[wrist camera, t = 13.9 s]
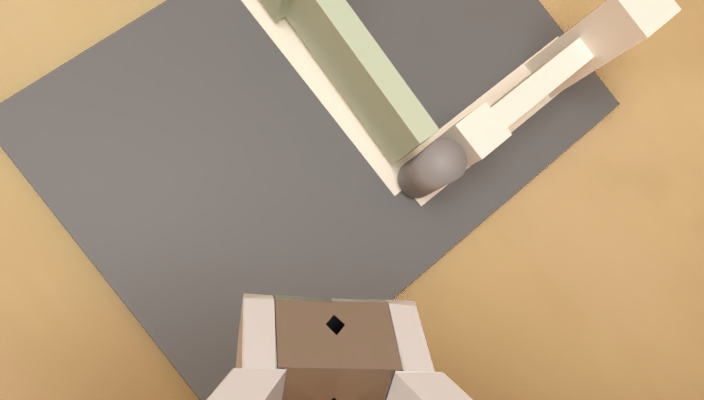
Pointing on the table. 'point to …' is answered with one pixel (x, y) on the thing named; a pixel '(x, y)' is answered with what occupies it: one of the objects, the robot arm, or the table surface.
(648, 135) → the table surface
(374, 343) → the robot arm
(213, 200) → the board
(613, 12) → the fixed fence
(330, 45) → the gate
